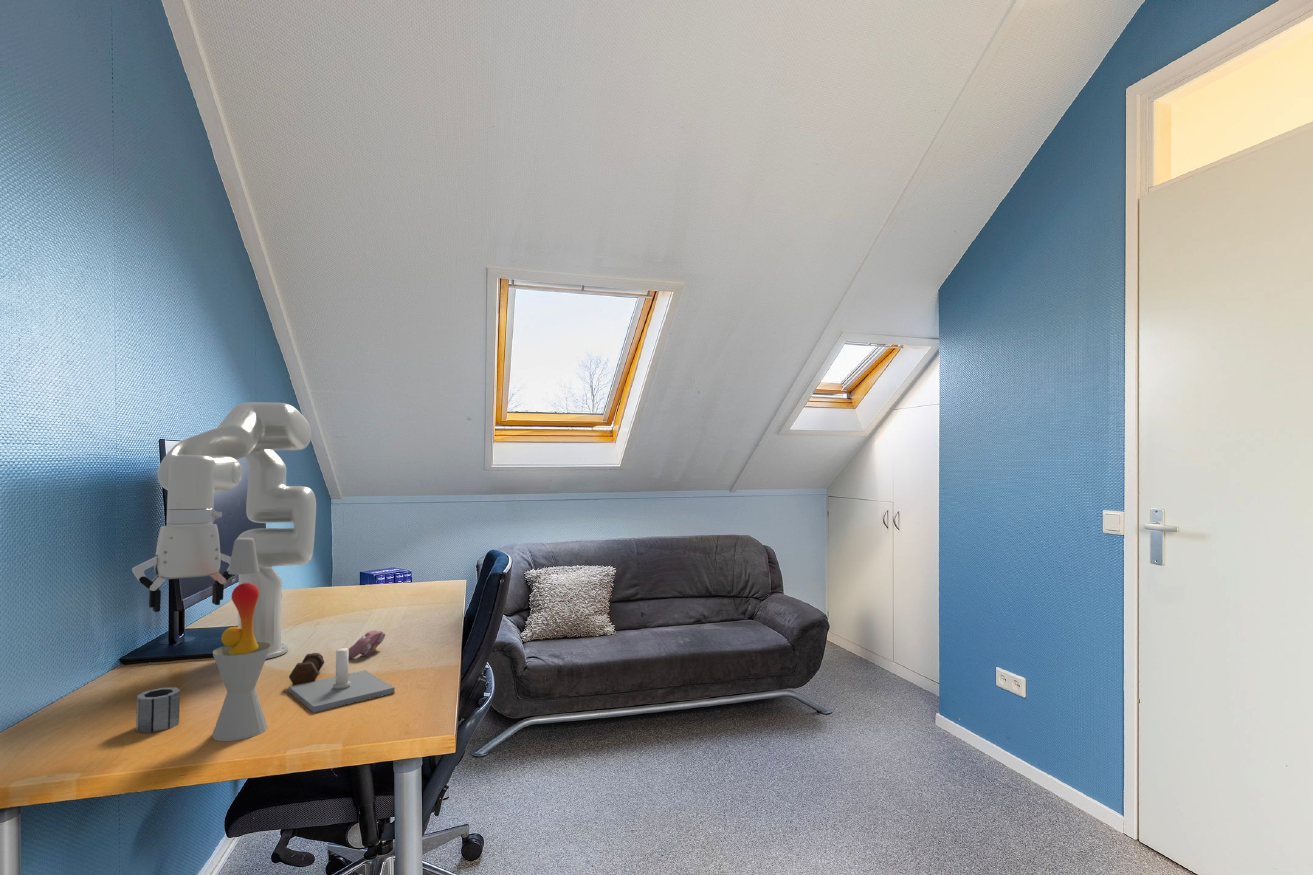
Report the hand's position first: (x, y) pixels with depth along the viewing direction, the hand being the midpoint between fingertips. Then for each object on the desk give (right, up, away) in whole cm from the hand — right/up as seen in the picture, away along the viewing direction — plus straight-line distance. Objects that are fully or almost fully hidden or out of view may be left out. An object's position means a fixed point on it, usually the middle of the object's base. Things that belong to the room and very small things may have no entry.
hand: (186, 607), depth 130 cm
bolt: (+12, -22, +24) cm, 34 cm away
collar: (-2, -21, -5) cm, 21 cm away
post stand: (+24, -21, +13) cm, 34 cm away
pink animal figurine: (+17, -22, +41) cm, 50 cm away
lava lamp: (+15, -21, -7) cm, 27 cm away
